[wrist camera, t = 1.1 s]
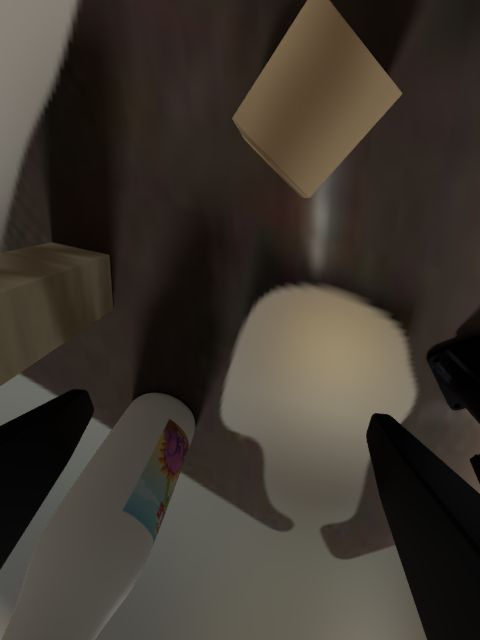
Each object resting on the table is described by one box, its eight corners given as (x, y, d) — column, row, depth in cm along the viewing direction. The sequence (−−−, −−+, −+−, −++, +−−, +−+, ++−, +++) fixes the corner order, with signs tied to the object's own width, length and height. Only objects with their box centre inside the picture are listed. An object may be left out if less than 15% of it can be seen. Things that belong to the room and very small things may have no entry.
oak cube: (364, 125, 15) (402, 93, 10) (301, 197, 17) (309, 198, 12) (304, 54, 14) (317, -16, 9) (245, 140, 16) (232, 118, 11)
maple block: (109, 255, 20) (-113, 331, 9) (113, 309, 23) (-60, 426, 11) (52, 242, 20) (-239, 301, 9) (61, 297, 23) (-160, 400, 11)
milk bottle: (128, 426, 30) (-92, 764, 12) (135, 380, 26) (-164, 764, 8) (189, 447, 30) (59, 811, 12) (204, 404, 26) (50, 830, 9)
